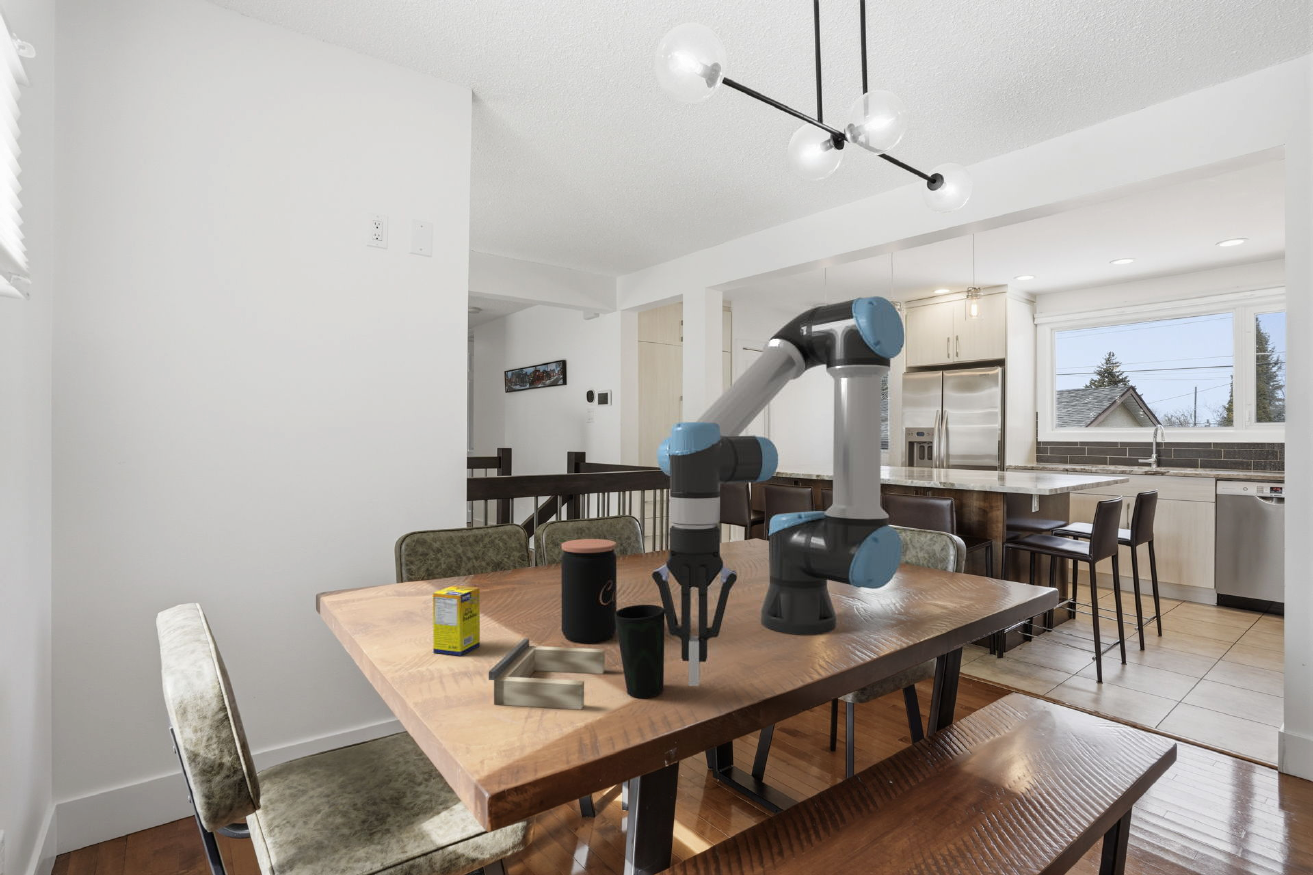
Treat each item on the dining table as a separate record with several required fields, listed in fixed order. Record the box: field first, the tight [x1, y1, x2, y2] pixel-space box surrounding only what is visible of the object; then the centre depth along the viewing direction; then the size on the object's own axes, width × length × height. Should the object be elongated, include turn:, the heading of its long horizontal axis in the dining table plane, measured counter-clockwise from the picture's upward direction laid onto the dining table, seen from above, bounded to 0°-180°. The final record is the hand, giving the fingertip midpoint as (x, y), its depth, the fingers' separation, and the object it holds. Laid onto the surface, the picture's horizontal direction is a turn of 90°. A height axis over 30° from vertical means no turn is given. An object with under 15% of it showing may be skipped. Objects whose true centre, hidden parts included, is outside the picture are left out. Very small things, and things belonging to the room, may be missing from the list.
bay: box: [488, 638, 606, 710], centre depth 97 cm, size 14×15×5 cm
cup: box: [614, 604, 666, 699], centre depth 95 cm, size 8×8×12 cm
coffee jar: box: [560, 538, 618, 644], centre depth 122 cm, size 11×11×18 cm
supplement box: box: [432, 585, 481, 657], centre depth 114 cm, size 6×6×11 cm
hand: (694, 682), depth 93 cm, fingers closed
